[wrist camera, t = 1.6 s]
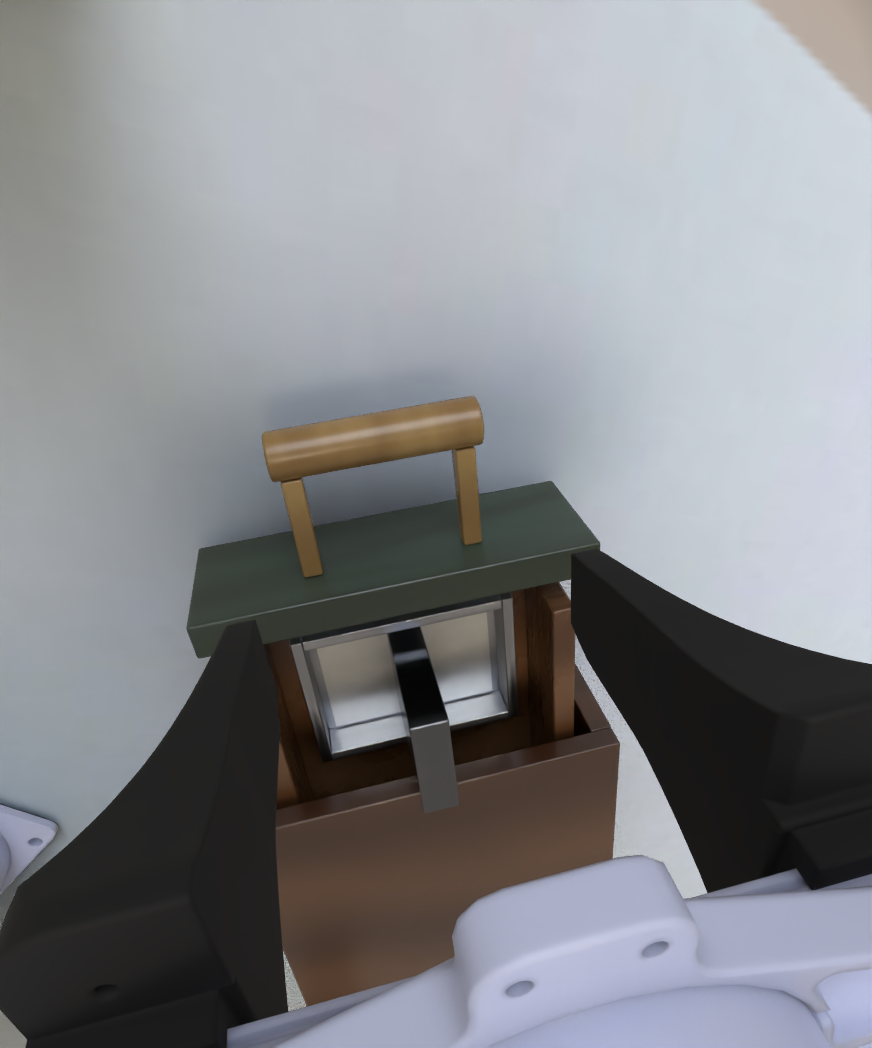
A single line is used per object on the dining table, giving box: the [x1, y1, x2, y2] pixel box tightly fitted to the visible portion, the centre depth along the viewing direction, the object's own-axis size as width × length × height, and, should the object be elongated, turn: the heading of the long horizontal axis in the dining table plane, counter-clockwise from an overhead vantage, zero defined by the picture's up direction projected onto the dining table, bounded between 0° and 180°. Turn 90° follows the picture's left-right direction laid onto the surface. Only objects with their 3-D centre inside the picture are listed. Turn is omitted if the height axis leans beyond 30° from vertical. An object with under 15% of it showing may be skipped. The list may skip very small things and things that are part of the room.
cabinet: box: [276, 664, 620, 1006], centre depth 30 cm, size 17×14×6 cm
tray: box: [289, 592, 519, 814], centre depth 23 cm, size 6×8×5 cm
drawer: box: [187, 396, 600, 809], centre depth 25 cm, size 20×12×4 cm, turn 6°
